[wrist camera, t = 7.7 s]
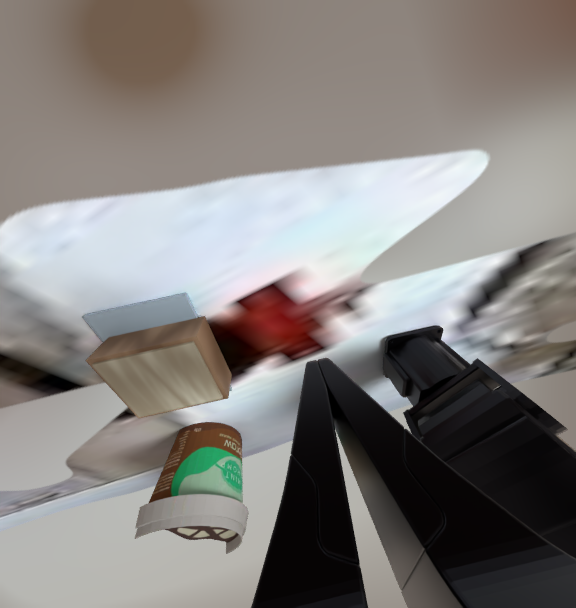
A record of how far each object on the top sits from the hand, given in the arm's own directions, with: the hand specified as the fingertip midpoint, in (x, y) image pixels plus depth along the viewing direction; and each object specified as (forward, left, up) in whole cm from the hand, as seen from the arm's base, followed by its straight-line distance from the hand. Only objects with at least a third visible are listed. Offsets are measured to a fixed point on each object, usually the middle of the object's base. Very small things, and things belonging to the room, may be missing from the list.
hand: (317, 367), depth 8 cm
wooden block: (+8, +7, -10) cm, 15 cm away
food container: (+13, +22, -12) cm, 28 cm away
